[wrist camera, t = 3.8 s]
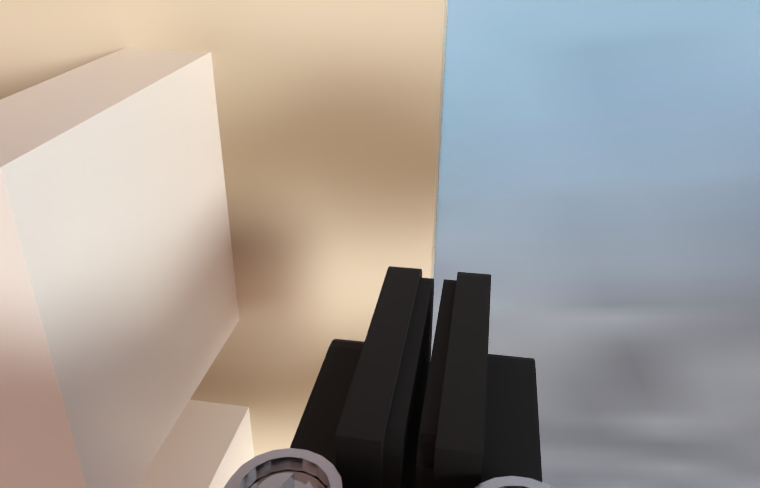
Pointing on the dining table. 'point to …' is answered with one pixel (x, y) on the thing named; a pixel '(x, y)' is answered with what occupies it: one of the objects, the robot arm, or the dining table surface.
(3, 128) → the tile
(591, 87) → the dining table surface
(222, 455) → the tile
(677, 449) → the dining table surface
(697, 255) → the dining table surface
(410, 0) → the birch board
